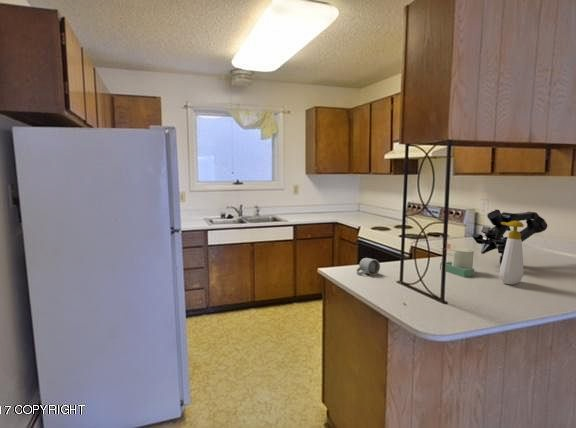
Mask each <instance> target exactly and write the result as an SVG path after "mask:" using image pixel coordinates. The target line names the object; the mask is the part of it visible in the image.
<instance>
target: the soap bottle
mask: <svg viewBox="0 0 576 428" xmlns="http://www.w3.org/2000/svg"><path fill="white" fill-rule="evenodd" d="M501 224H502V225H507V226H510V227H513V230H510V231H508V236H507V237H508V238H507V242H506V246H505V250H504V255H503V259H502V263H501V264H500V267H499V278H500V279H501V281H502V283H504V284H506V285H509V286H512V285H517V284H519V283H520V282H521V281H522V279H523V276H524V272H525V271H524V257H523V256H524V254H523V253H524V252H523V242H522V240H521V233H520V231H518V228H523V227H525V224H523V222H521V221H511V222H508V223H506V222H501Z"/></svg>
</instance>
